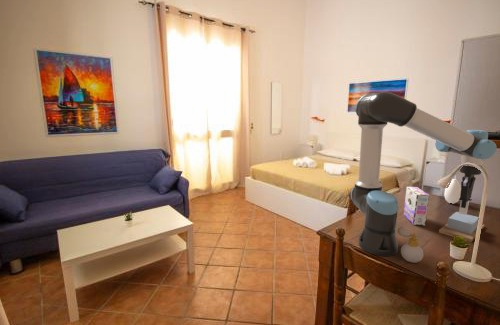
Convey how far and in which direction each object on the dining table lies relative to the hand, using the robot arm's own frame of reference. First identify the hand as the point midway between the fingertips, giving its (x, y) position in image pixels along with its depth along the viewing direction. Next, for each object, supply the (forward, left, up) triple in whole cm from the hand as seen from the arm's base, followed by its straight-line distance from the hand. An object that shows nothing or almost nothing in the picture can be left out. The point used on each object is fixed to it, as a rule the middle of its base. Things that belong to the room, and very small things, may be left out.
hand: (462, 213), depth 121 cm
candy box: (-2, +19, -10) cm, 21 cm away
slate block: (-2, 0, -6) cm, 6 cm away
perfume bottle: (-43, +6, -10) cm, 45 cm away
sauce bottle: (+41, +14, -10) cm, 44 cm away
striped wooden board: (+4, 0, -9) cm, 10 cm away
